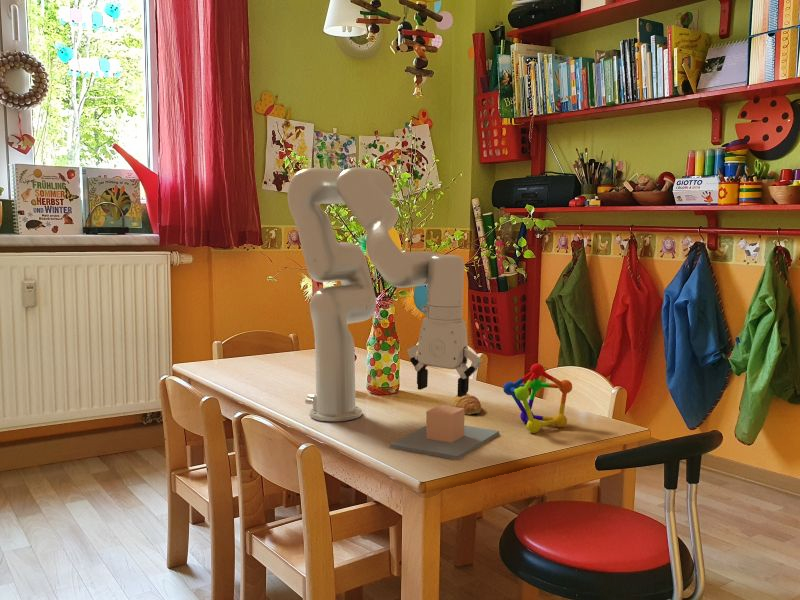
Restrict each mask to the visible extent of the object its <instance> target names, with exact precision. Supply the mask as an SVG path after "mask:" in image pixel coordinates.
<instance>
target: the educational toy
mask: <svg viewBox="0 0 800 600" xmlns="http://www.w3.org/2000/svg"><path fill="white" fill-rule="evenodd" d="M529 370H530V371H529V372H528V373H527V374H525V375H524V376H522V377H520V379H518V380H517V381H515V382H513V381H507V382H506V383H504V384H503V388H502V390H503V392H504V393H505V395H507V396H511V397H512V399H513V400H514V401H515V403H516V405H517V406H518V408H519V410H520V411H521V412H520V419H521V421H522V422H523V423H525V424H526V429H527V430H528V432H529V433H531V434H536V433H538V432H539V431H540V430H541V428H542V427H546V426H552V425H554V426H555V427H557V428H564V427H566V425H567V424H568V418H567V416H566V415H565V414H564V413H565V406H566V401H567V394H569V393H570V392H571V391H572V390H573V383H572V382H571V381H570V380H568V379H563V380H560V379H558V378H556V377H554V376H553V375H550V374H549V373H547V372H545V368H544V366H543V365H542V364H540V363H534V364H532V365H531V366H530V369H529ZM540 377H544V378H545V379H547V380H549V381H551V383H550V382H542V379H540ZM525 382H526V383H525ZM543 388H548V389H549V388H551V389H558V390H559V391H560V392H561V393H562V394H561V397H560V406H559V411H558V412H559V413H557V414H556V415H554V416H553V417H552V416H543V415H536V414H534V413H533V411H532V409H533V404H534V401H535V398H536V393H537V392H538V391H541V390H542V389H543ZM529 389H531V392H530V391H529ZM528 399H529V400H528Z"/></svg>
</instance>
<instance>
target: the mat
mask: <svg viewBox="0 0 800 600" xmlns="http://www.w3.org/2000/svg"><path fill="white" fill-rule="evenodd" d="M499 435H500V430H495V429H489V428H484V427H483V428H482V427H476V426H471V425H469V426H468V425H464V436H463V437H461V438H459V439H457V440H456V441H454V442H452V443H450V442H444V441H438V440H432V439H427V425H425V426H423V427H420V428H419V429H417V430H415V431H412V432H411V433H409V434H407V435H404V436H403V437H401V438H399V439H397V440H395V441H393V442H390V443H389V448H390V449H395V450H401V451H406V452H410V453H411V452H413V453H417V454H423V455H429V456H433V457H438V458H439V457H440V458H445V459H450V460H456V461H459V460H461V459H462V458H464V457H465V456H467V455H469V454H470V453H471V452H473V451H475V450H477V449H478V448H480V447H481V446H483V445H484V444H486V443H487V442H489V441H491V440H493V439H494V438H496V437H497V436H499Z"/></svg>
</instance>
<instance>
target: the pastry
mask: <svg viewBox="0 0 800 600" xmlns="http://www.w3.org/2000/svg"><path fill="white" fill-rule="evenodd" d="M451 407H458V408H464V415H468V416H469V415H472V414H480V413H481V411H482V405H481V402H480V400H479V399H478V398H477V397H476V396H475V395H471V394H469V393H467V394H466V395H464V396H462V397H458V395H455V396H454V397H453V398H452V401H451Z"/></svg>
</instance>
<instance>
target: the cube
mask: <svg viewBox="0 0 800 600" xmlns="http://www.w3.org/2000/svg"><path fill="white" fill-rule="evenodd" d="M425 412H426V425H425V426H427V439H432V440H438V441H444V442H450V443H452V442H454V441H456V440H457V439H459V438H461V437H463V436H464V426H465V414H464V408H458V407H452V405H451V406H449V405H443V404H438V405H436V406H435V407H433V408H430V409H428V410H426V411H425Z"/></svg>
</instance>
